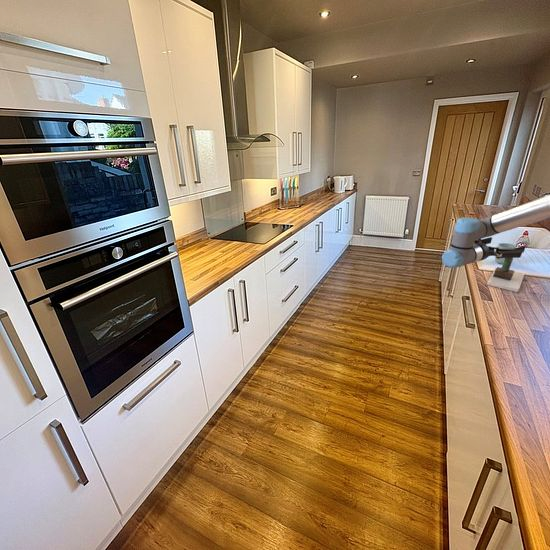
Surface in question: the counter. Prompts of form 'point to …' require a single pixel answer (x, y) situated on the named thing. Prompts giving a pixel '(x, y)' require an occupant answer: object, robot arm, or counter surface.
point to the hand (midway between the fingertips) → (506, 244)
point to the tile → (507, 281)
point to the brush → (504, 270)
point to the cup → (504, 246)
